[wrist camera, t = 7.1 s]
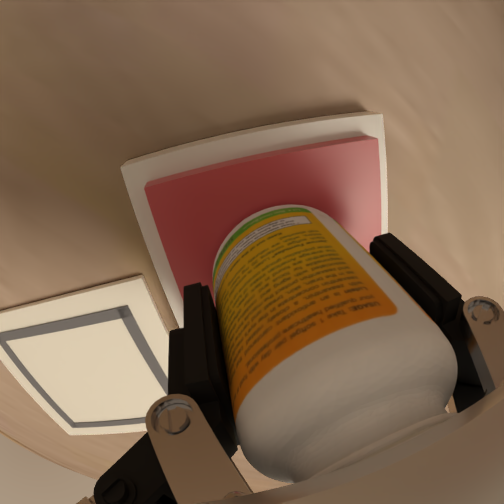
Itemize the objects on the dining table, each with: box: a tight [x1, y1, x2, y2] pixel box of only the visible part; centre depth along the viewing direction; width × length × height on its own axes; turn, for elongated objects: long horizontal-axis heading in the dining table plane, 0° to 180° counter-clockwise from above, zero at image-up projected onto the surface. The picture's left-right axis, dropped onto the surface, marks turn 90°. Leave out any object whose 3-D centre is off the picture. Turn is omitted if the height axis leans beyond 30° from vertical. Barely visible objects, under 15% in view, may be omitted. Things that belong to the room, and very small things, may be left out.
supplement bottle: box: [212, 204, 459, 484], centre depth 8 cm, size 5×5×10 cm
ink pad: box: [120, 111, 388, 328], centre depth 13 cm, size 10×10×2 cm
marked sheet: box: [0, 275, 169, 435], centre depth 16 cm, size 12×12×1 cm
